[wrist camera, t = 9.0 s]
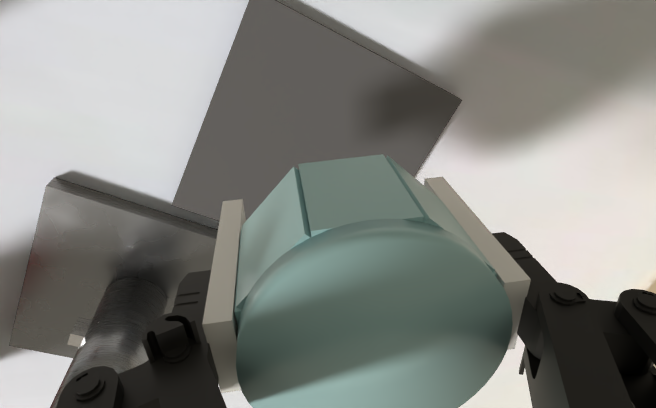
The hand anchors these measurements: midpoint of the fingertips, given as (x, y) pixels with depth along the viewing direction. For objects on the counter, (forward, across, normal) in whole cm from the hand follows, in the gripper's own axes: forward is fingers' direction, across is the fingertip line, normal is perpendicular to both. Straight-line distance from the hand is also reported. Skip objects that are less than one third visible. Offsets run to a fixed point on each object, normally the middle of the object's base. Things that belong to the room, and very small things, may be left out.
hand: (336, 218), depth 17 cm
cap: (-2, 0, 0) cm, 2 cm away
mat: (+7, 0, 0) cm, 7 cm away
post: (+7, -12, -8) cm, 16 cm away
